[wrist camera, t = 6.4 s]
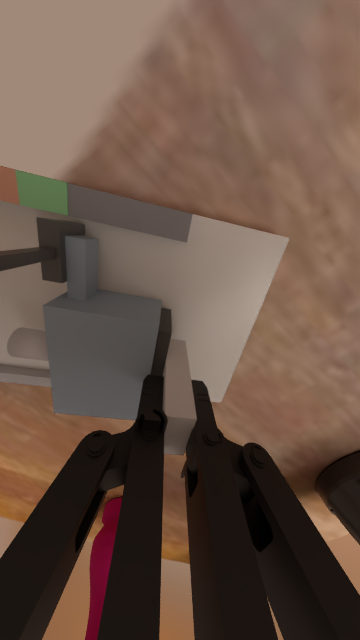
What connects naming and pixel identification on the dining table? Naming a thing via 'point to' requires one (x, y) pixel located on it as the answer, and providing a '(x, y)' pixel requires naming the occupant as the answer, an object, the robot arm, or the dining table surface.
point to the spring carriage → (96, 341)
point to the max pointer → (45, 249)
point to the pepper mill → (101, 565)
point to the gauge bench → (139, 271)
